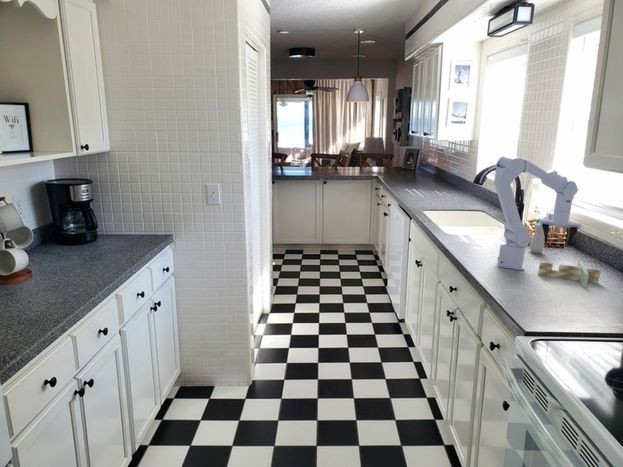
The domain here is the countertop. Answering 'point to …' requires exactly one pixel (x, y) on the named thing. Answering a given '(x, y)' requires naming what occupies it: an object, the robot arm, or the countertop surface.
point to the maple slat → (568, 272)
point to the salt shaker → (537, 240)
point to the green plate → (583, 274)
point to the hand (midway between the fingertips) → (556, 244)
